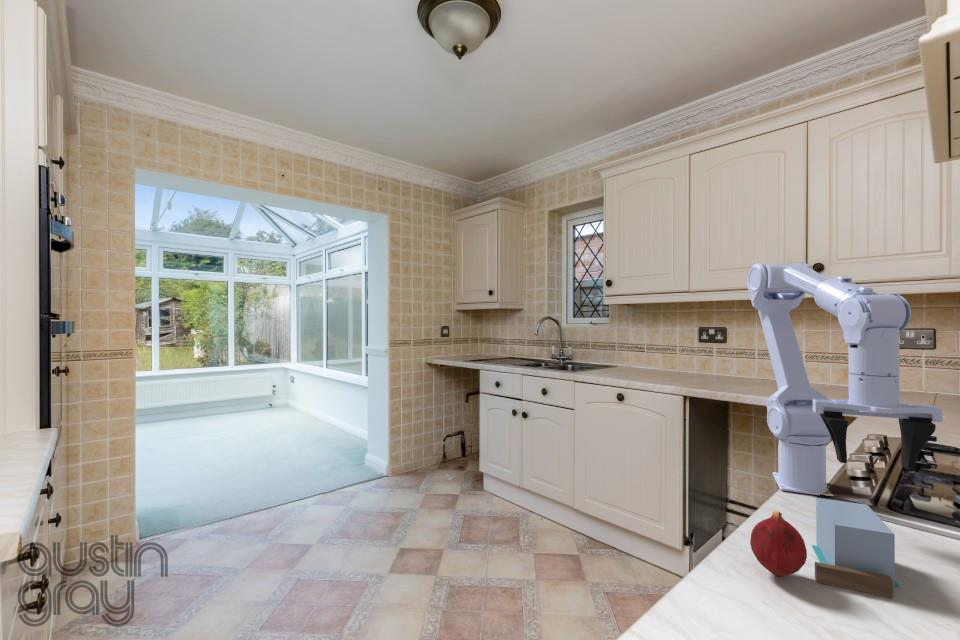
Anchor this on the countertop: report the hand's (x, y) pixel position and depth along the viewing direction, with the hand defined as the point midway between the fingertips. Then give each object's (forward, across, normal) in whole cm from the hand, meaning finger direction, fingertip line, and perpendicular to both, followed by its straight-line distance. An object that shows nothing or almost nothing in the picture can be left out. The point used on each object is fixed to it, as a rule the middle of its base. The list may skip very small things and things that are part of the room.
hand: (873, 464), depth 66 cm
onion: (+10, -15, -20) cm, 27 cm away
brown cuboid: (+10, -8, -19) cm, 23 cm away
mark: (+10, -6, -13) cm, 17 cm away
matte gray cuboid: (+10, -6, -13) cm, 17 cm away
